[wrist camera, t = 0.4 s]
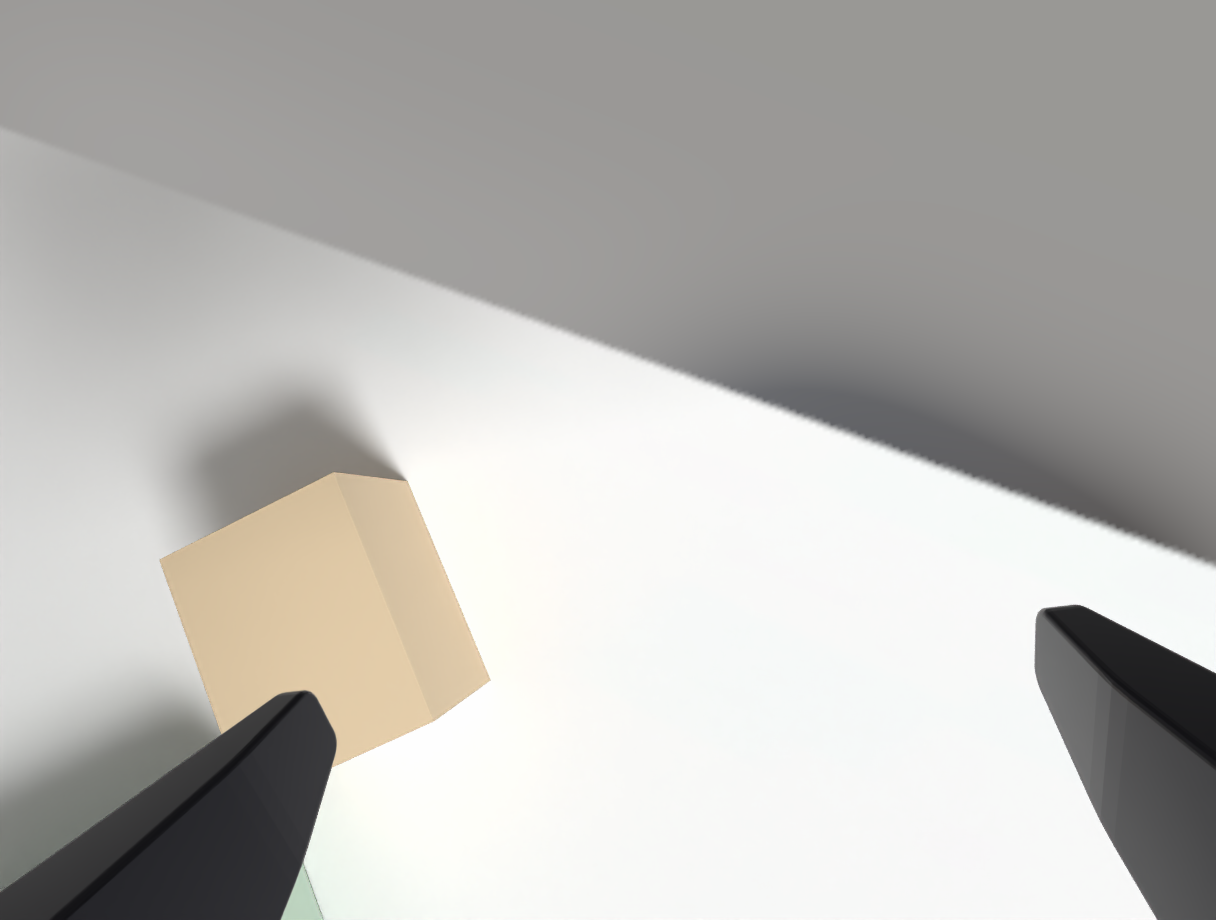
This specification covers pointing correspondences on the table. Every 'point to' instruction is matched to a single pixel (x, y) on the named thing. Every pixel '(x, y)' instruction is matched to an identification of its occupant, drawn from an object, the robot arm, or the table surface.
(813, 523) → the table surface
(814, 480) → the table surface
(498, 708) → the table surface
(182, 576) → the tan rectangular block
